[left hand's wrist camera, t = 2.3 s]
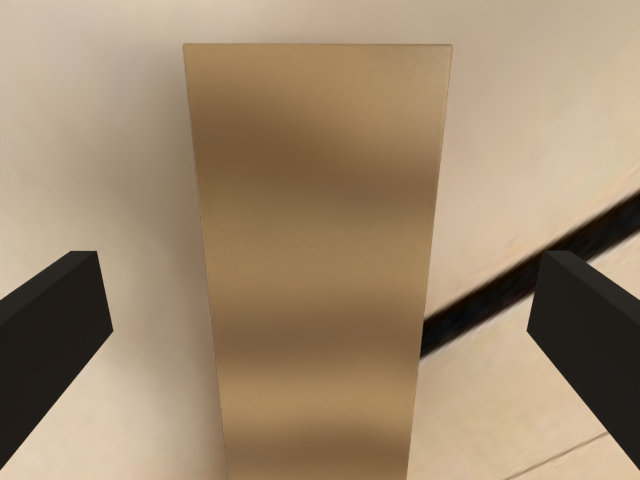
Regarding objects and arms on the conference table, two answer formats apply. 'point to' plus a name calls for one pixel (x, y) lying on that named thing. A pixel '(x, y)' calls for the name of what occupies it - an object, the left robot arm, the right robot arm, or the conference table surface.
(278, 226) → the wide beam
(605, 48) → the conference table surface
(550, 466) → the conference table surface
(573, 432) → the conference table surface
